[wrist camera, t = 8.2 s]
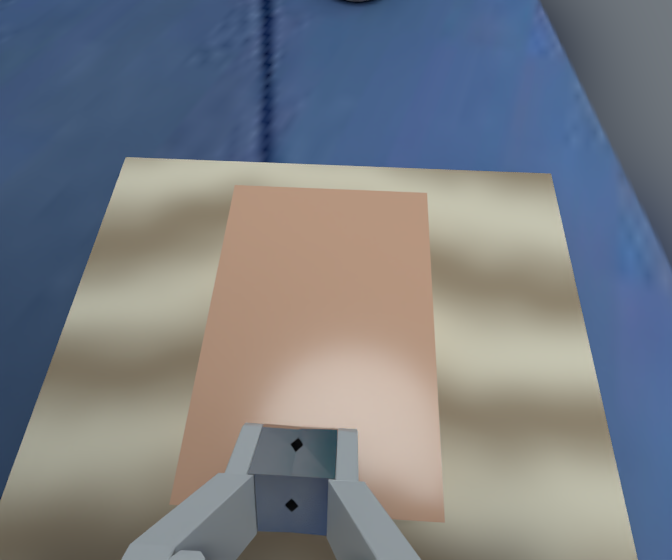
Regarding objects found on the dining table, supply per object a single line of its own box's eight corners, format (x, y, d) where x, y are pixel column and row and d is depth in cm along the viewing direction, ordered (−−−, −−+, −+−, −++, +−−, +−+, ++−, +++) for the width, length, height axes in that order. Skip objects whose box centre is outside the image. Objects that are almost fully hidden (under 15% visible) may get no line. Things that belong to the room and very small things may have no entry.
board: (665, 791, 12) (697, 825, 11) (-56, 730, 13) (-94, 756, 12) (540, 187, 22) (550, 173, 21) (136, 171, 22) (125, 157, 21)
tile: (169, 504, 12) (234, 185, 18) (194, 495, 14) (246, 214, 20) (445, 522, 12) (427, 192, 17) (428, 510, 14) (417, 221, 19)
